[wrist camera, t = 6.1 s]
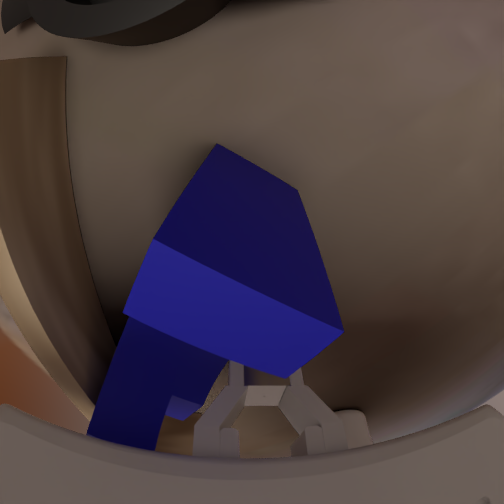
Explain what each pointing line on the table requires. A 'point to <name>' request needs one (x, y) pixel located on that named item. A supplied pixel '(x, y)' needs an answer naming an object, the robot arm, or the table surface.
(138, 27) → the black winged round fixture
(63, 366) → the bar
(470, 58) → the table surface
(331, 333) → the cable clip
